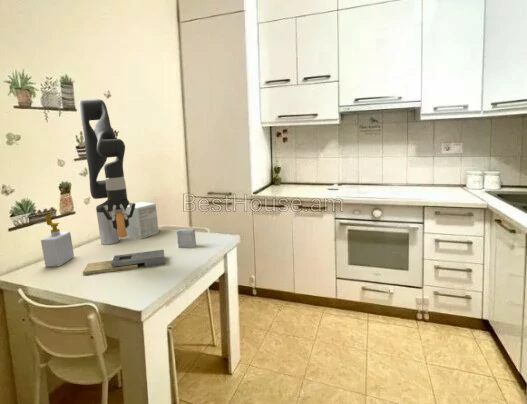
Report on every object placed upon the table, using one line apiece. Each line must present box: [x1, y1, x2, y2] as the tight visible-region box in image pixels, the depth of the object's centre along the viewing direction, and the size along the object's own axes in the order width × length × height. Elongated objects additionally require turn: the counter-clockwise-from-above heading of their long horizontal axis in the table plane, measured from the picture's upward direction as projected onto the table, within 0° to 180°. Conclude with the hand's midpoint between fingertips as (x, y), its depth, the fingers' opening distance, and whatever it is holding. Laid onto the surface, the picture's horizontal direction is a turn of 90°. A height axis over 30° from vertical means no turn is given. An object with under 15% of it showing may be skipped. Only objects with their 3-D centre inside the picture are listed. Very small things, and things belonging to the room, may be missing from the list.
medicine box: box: [176, 228, 197, 249], centre depth 171 cm, size 8×4×9 cm, turn 84°
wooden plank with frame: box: [82, 249, 166, 276], centre depth 149 cm, size 32×10×4 cm, turn 106°
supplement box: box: [126, 201, 160, 240], centre depth 195 cm, size 13×13×18 cm
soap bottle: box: [40, 211, 75, 268], centre depth 156 cm, size 12×7×23 cm, turn 179°
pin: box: [114, 209, 128, 239], centre depth 146 cm, size 5×5×12 cm
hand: (121, 228), depth 146 cm, fingers closed on pin, 3 cm apart
